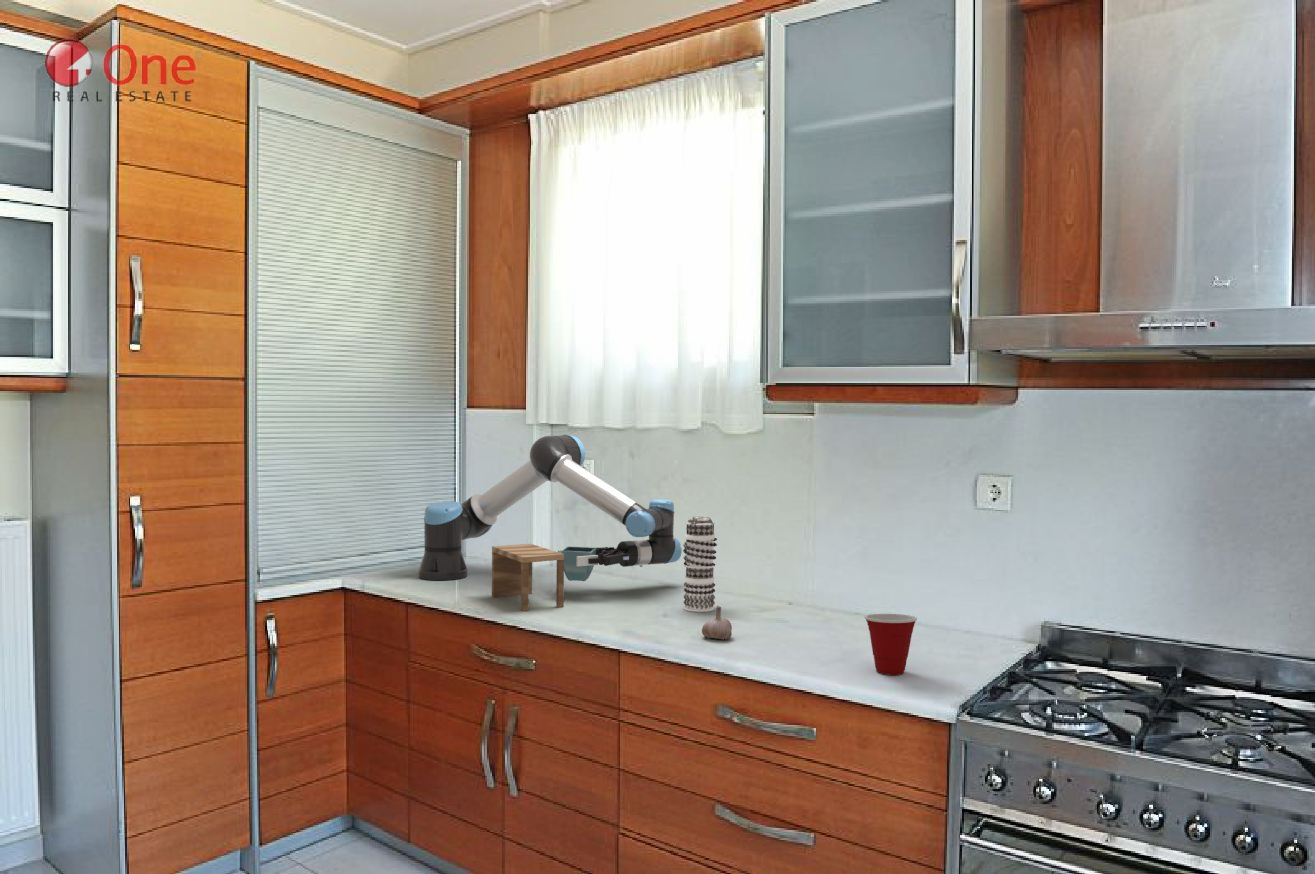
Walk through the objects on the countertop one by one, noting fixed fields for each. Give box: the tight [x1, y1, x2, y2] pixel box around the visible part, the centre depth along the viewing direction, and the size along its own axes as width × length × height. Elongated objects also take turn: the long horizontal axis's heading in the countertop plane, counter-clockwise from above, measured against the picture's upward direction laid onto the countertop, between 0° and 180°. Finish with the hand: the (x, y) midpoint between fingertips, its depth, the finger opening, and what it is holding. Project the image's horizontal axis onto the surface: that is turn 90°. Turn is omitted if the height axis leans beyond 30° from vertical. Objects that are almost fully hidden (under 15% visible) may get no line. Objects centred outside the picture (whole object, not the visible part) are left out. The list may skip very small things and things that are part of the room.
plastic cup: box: [863, 613, 918, 676], centre depth 205 cm, size 11×11×12 cm
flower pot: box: [561, 546, 597, 582], centre depth 282 cm, size 9×9×9 cm
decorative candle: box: [682, 516, 718, 613], centre depth 266 cm, size 9×9×25 cm
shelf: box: [491, 543, 565, 612], centre depth 273 cm, size 22×12×14 cm, turn 31°
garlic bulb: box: [701, 605, 733, 641], centre depth 233 cm, size 8×7×8 cm
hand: (567, 558), depth 279 cm, fingers closed on flower pot, 12 cm apart
